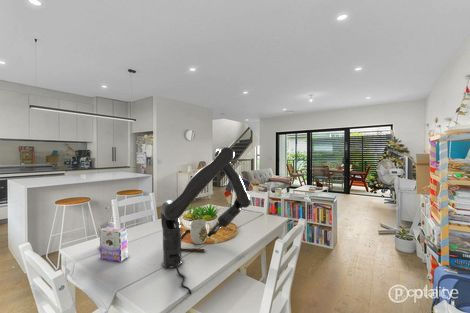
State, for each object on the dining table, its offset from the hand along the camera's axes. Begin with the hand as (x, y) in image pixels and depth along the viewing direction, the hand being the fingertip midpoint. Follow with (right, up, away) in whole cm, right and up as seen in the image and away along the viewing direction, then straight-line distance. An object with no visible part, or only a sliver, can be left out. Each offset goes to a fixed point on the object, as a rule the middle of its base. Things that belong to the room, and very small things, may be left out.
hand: (208, 235), depth 141 cm
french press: (-62, -5, -6) cm, 62 cm away
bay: (-10, -4, +2) cm, 10 cm away
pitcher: (-5, -4, 0) cm, 7 cm away
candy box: (-50, -5, -20) cm, 54 cm away
